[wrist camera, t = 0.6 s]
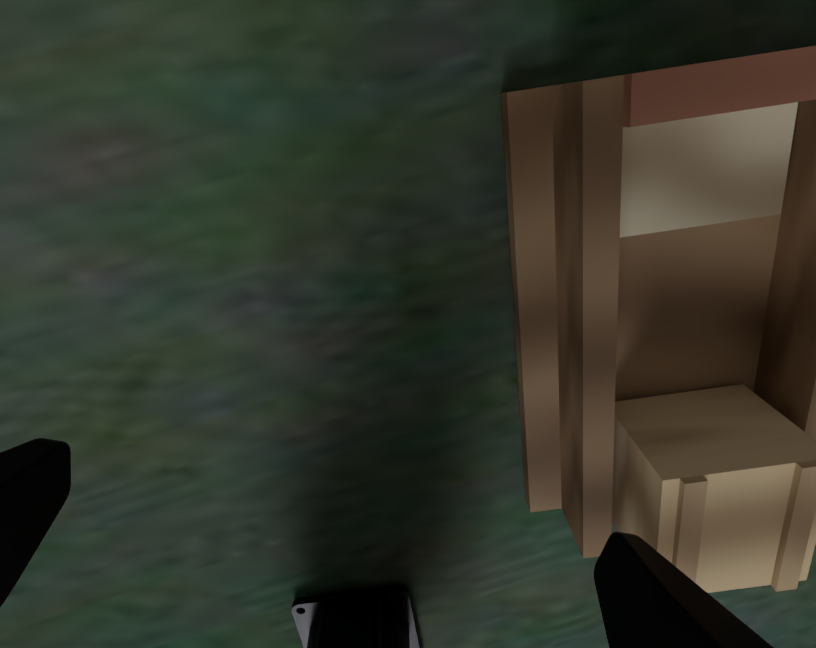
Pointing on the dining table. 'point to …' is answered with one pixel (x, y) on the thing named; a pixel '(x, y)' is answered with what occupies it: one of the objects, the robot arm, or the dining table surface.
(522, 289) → the bay
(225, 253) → the dining table surface
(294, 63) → the dining table surface
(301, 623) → the robot arm
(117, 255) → the dining table surface
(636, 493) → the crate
